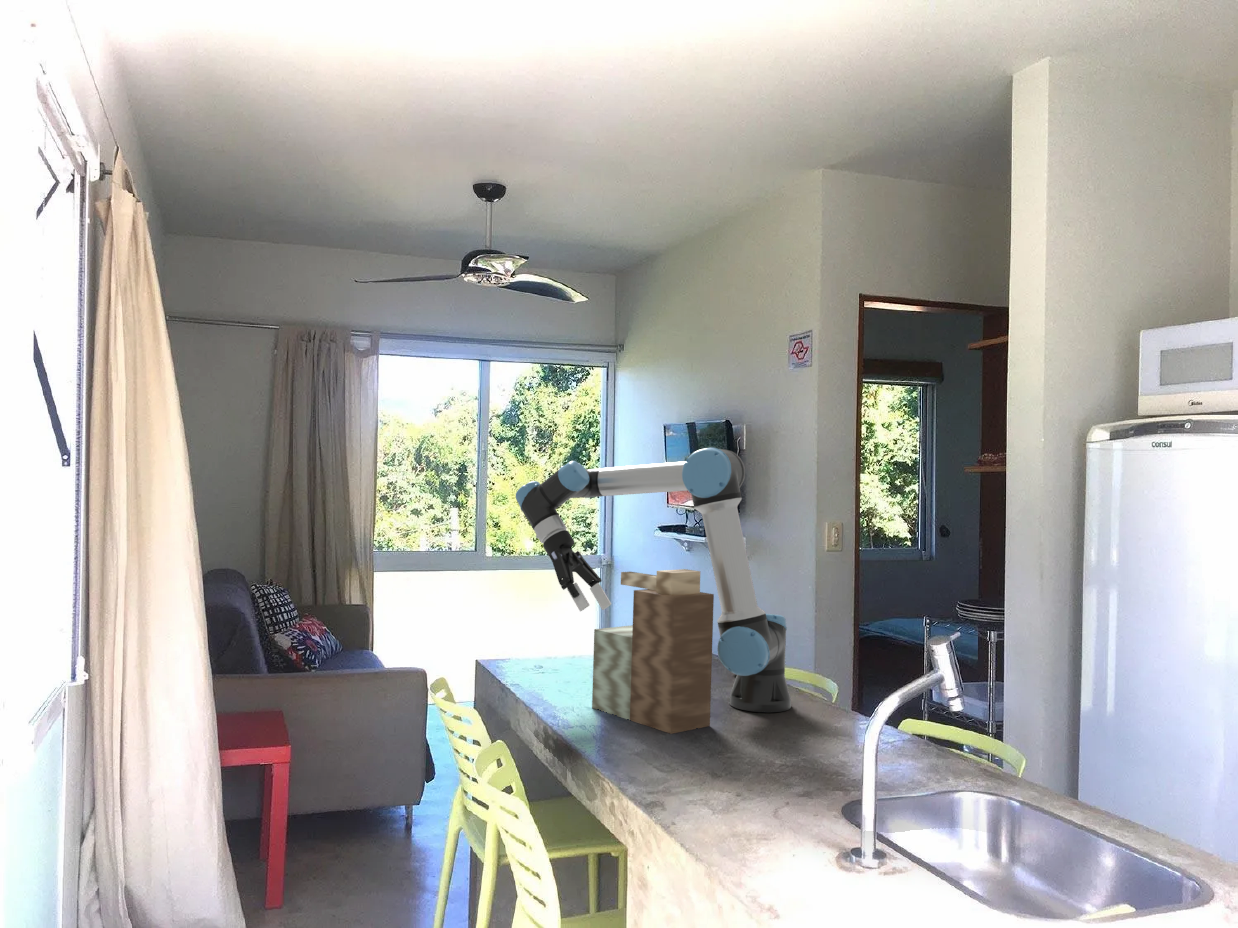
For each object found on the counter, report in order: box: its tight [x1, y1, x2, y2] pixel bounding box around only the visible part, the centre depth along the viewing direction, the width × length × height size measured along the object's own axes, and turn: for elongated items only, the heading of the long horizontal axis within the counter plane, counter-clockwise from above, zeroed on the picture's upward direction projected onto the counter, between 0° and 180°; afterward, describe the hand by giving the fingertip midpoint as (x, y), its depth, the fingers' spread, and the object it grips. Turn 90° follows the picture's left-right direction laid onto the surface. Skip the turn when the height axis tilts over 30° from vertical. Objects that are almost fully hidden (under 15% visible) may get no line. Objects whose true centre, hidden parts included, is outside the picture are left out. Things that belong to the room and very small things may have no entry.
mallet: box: [620, 568, 701, 595], centre depth 234 cm, size 21×9×5 cm, turn 40°
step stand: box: [591, 588, 715, 735], centre depth 235 cm, size 28×12×30 cm, turn 40°
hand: (596, 607), depth 249 cm, fingers open, 13 cm apart
